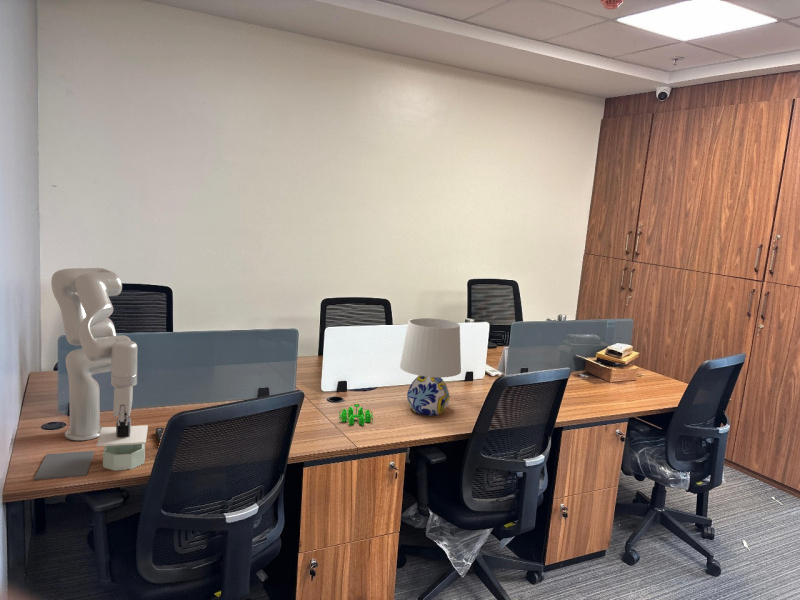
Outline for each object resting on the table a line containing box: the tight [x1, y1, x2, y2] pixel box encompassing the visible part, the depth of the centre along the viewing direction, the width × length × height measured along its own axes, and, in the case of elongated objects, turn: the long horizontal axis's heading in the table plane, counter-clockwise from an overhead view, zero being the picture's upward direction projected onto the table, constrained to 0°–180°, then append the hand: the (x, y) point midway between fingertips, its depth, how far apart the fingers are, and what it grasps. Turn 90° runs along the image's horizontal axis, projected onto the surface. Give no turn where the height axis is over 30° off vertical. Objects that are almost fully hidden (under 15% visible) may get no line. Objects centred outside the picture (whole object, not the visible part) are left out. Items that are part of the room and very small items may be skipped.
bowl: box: [102, 444, 146, 472], centre depth 192 cm, size 12×12×5 cm
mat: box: [33, 450, 95, 481], centre depth 187 cm, size 18×14×1 cm
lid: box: [96, 416, 149, 448], centre depth 191 cm, size 14×14×6 cm
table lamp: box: [399, 317, 462, 417], centre depth 261 cm, size 27×27×40 cm
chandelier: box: [338, 403, 374, 427], centre depth 244 cm, size 15×15×7 cm
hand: (123, 432), depth 191 cm, fingers closed on lid, 4 cm apart
